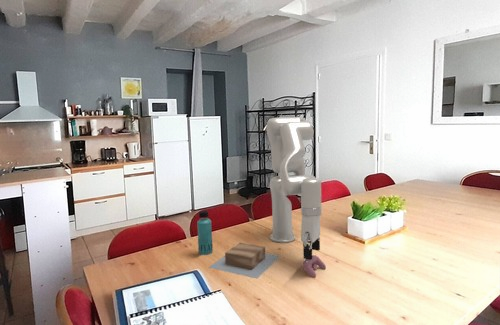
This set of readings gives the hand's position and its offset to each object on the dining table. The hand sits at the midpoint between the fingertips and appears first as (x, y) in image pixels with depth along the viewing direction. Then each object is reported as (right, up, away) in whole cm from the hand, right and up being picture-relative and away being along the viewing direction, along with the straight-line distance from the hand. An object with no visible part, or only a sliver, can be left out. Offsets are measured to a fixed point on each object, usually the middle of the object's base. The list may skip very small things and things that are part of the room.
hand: (311, 254), depth 125 cm
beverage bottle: (-44, -6, +19) cm, 48 cm away
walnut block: (-26, -5, +8) cm, 27 cm away
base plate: (-26, -7, +9) cm, 28 cm away
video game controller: (+1, -7, +1) cm, 7 cm away
